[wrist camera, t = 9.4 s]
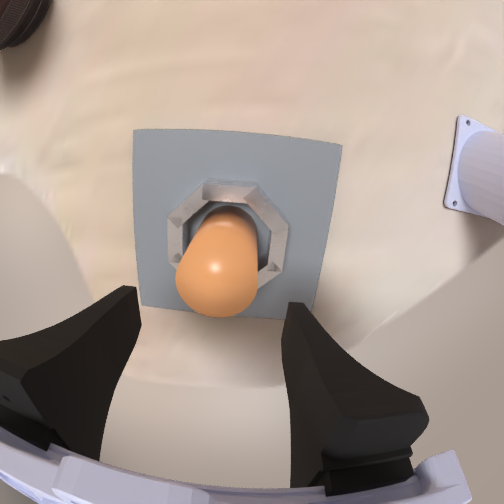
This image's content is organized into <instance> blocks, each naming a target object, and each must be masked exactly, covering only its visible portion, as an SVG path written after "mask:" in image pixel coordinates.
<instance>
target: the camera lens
mask: <svg viewBox="0 0 504 504" xmlns="http://www.w3.org/2000/svg"><path fill="white" fill-rule="evenodd" d="M49 2H50V0H0V50H2V49H5V48H7V47H15V46H18V45H20V44H21V43H23V42H24V41H25V40H27V39H28V38H29V37H30V36H31V35H32V34H33V32H34V31H35V30H36V29H37V27H38V26H39V24H40V23H41V21H42V19H43V18H44V16H45V14H46V11H47V9H48V6H49Z"/></svg>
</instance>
